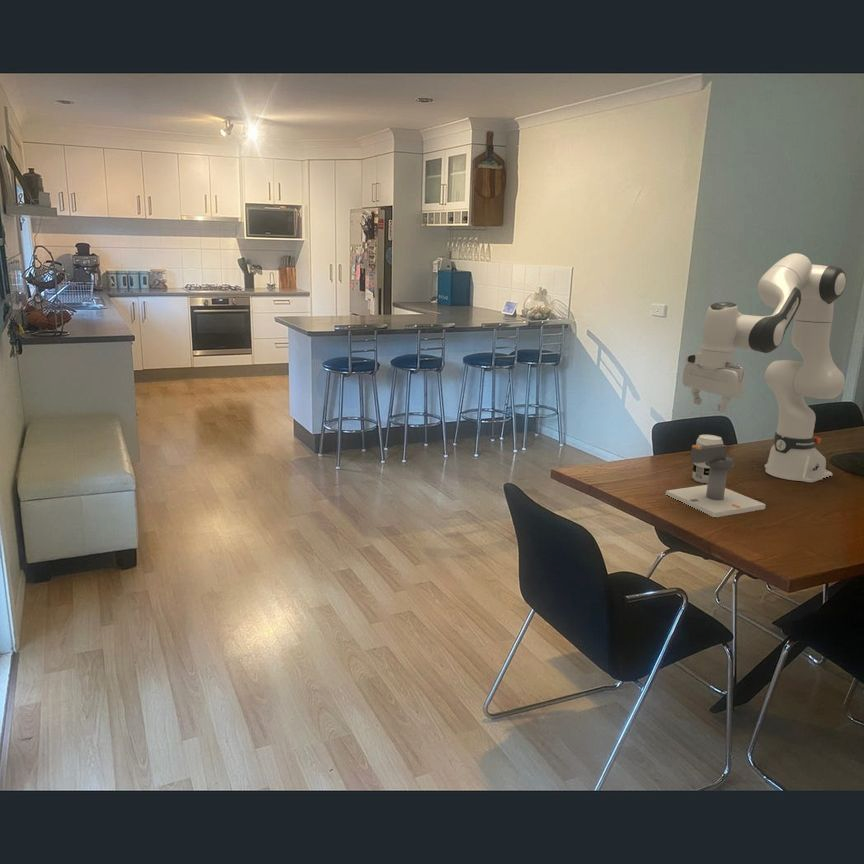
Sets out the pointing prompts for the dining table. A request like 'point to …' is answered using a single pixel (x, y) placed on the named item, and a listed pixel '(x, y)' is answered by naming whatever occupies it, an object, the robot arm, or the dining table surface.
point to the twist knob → (712, 456)
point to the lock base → (715, 504)
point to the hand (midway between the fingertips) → (709, 407)
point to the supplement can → (702, 469)
